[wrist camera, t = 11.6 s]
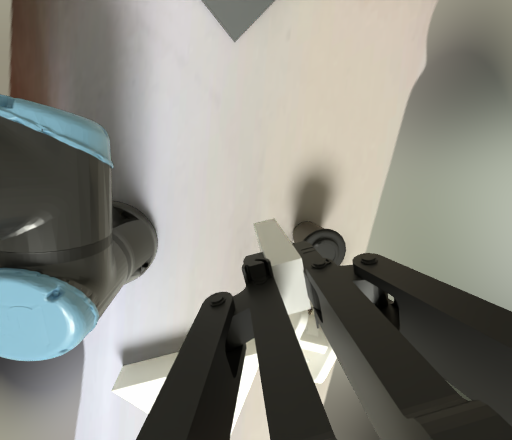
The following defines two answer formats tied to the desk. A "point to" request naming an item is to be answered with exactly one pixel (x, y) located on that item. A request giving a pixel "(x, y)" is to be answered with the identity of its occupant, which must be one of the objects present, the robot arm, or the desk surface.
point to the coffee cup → (321, 240)
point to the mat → (237, 14)
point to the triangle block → (156, 370)
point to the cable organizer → (313, 344)
